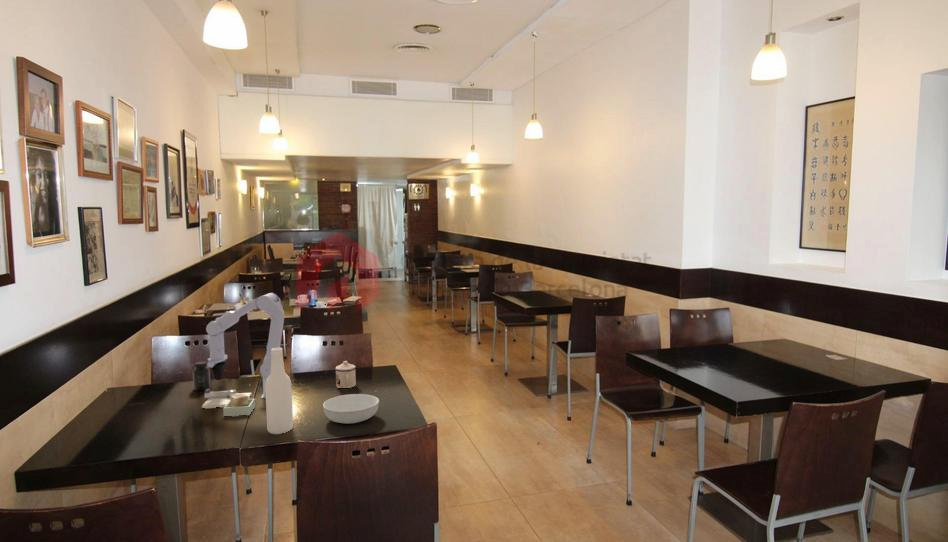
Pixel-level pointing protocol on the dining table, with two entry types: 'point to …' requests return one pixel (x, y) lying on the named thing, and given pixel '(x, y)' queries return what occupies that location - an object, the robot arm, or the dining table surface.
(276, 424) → the alcohol
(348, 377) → the teacup with lid
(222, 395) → the crank arm
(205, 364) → the supplement bottle
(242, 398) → the block
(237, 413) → the tray
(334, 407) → the serving bowl
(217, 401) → the crank board
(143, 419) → the dining table surface
